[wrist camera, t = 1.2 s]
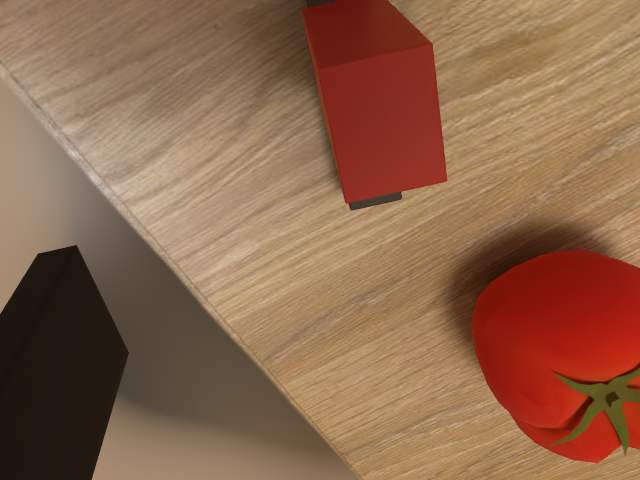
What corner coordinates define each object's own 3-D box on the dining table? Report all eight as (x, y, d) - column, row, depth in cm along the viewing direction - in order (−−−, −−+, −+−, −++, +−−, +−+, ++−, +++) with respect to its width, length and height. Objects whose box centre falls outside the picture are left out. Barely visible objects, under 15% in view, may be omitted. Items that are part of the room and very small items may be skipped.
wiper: (338, 189, 29) (373, 334, 20) (267, -143, 22) (268, -162, 13) (399, 176, 29) (462, 315, 20) (346, -162, 22) (407, -196, 13)
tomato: (500, 196, 30) (577, 298, 23) (677, 246, 33) (798, 354, 25) (418, 352, 35) (459, 478, 28) (577, 385, 38) (654, 510, 30)
